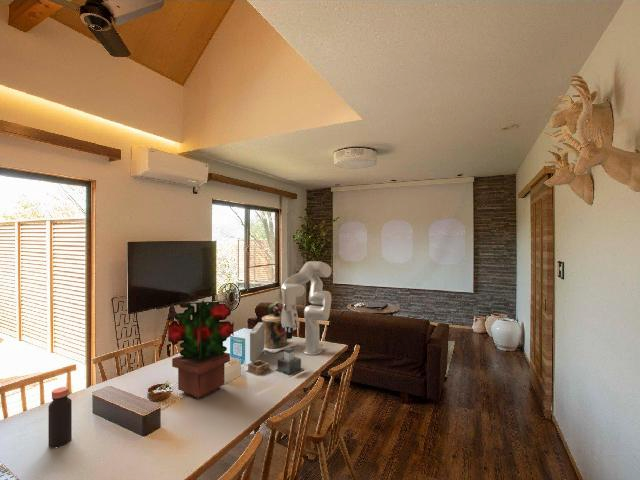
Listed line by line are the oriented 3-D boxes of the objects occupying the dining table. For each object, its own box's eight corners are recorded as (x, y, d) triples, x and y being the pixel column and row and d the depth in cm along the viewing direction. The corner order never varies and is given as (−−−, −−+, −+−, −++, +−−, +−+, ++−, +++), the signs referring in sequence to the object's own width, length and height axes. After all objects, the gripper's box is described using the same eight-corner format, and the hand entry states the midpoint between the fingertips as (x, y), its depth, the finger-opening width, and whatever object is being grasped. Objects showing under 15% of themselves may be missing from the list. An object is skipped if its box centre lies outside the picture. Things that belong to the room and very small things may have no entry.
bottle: (47, 442, 120) (47, 389, 120) (70, 434, 125) (70, 383, 125) (49, 451, 115) (49, 395, 115) (72, 442, 120) (72, 389, 120)
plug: (289, 367, 188) (289, 347, 188) (294, 369, 185) (293, 348, 185) (284, 369, 185) (284, 349, 185) (289, 371, 182) (289, 350, 182)
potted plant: (205, 377, 176) (204, 296, 176) (233, 387, 165) (233, 300, 165) (168, 394, 157) (168, 303, 157) (197, 406, 146) (197, 308, 146)
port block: (289, 365, 193) (289, 354, 193) (303, 370, 186) (303, 358, 186) (274, 371, 184) (274, 359, 184) (289, 377, 177) (289, 364, 177)
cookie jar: (251, 346, 229) (251, 302, 229) (276, 338, 247) (276, 297, 248) (274, 354, 213) (274, 306, 213) (299, 345, 232) (299, 301, 232)
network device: (259, 365, 194) (259, 332, 194) (245, 364, 195) (245, 332, 195) (267, 350, 220) (267, 321, 220) (254, 350, 220) (254, 321, 220)
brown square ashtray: (259, 366, 191) (259, 358, 191) (272, 371, 185) (272, 362, 185) (244, 372, 183) (244, 364, 183) (257, 377, 176) (257, 368, 176)
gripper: (303, 307, 183) (303, 339, 183) (284, 304, 193) (284, 334, 193) (294, 309, 177) (294, 342, 177) (275, 306, 187) (275, 337, 187)
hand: (289, 338), depth 185 cm, fingers closed
